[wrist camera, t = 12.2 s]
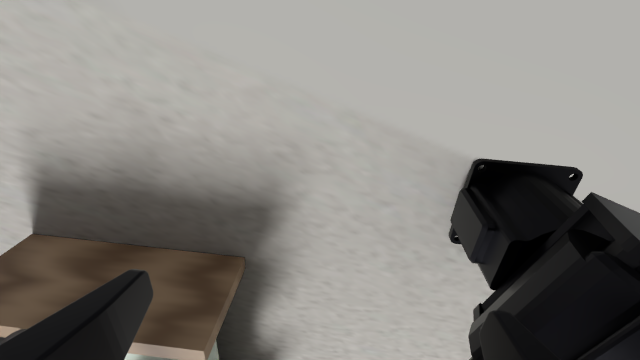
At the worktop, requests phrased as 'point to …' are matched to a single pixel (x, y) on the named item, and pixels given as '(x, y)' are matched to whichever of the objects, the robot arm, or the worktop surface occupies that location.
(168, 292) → the frame
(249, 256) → the worktop surface
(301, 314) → the worktop surface
